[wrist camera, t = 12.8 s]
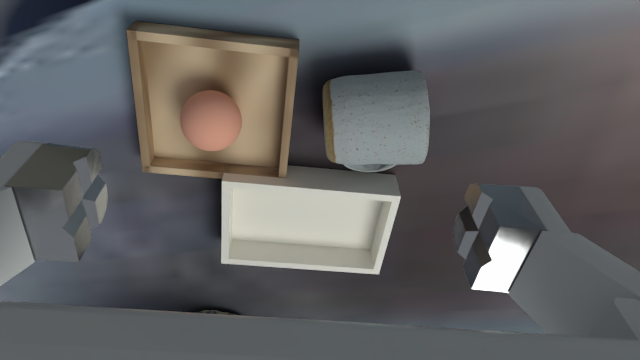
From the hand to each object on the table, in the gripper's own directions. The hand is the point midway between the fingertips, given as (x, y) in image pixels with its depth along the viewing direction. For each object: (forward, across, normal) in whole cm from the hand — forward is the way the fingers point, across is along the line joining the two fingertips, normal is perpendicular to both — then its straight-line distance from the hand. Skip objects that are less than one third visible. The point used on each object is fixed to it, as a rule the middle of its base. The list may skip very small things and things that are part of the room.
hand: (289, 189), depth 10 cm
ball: (+26, +6, +13) cm, 30 cm away
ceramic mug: (+29, -8, +12) cm, 33 cm away
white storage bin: (+29, -3, +24) cm, 38 cm away
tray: (+29, +6, +13) cm, 32 cm away
